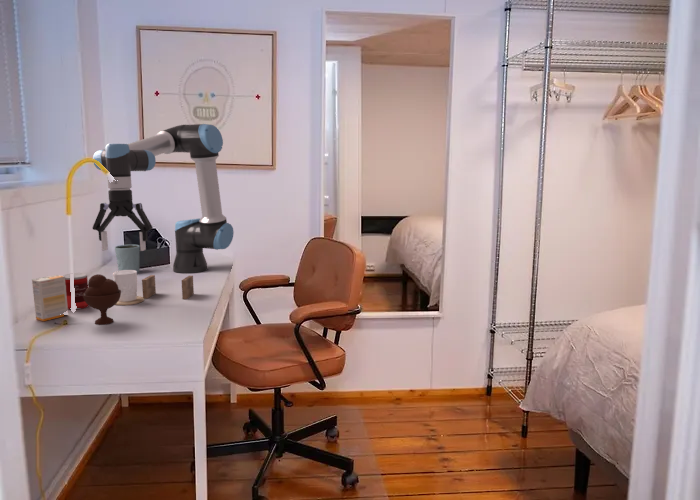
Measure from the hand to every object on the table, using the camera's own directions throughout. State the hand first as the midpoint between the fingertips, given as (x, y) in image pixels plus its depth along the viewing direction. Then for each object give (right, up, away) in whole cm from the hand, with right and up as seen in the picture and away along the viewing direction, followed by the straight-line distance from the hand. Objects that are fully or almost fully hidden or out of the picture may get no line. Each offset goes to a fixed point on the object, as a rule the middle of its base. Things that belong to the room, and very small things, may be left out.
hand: (124, 250), depth 193 cm
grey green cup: (-19, -10, +51) cm, 56 cm away
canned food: (-14, -20, -4) cm, 25 cm away
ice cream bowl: (+3, -23, -22) cm, 31 cm away
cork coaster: (0, -18, +3) cm, 18 cm away
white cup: (0, -18, +3) cm, 18 cm away
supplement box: (-16, -22, -17) cm, 32 cm away
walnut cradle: (+12, -17, +10) cm, 23 cm away
